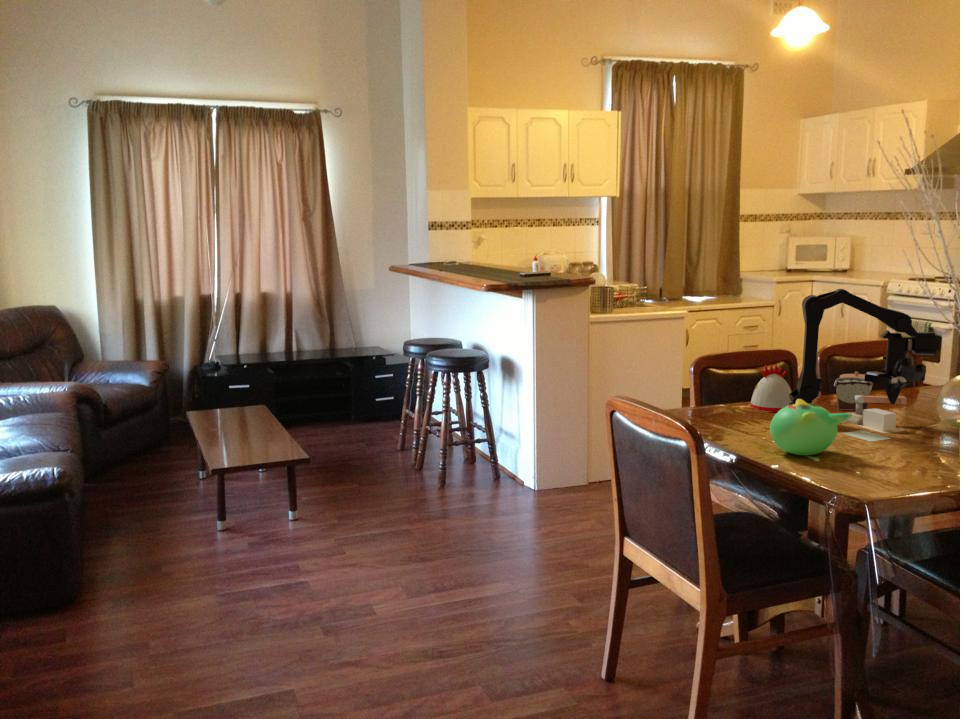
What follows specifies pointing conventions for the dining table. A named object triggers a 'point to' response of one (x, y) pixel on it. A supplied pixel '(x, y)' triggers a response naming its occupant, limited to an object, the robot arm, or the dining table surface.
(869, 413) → the block
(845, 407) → the food container
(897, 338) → the robot arm
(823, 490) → the dining table surface
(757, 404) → the kitchen timer
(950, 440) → the dining table surface
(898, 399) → the latch bar
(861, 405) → the housing
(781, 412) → the toy bird
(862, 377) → the lidded jar
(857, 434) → the mat
